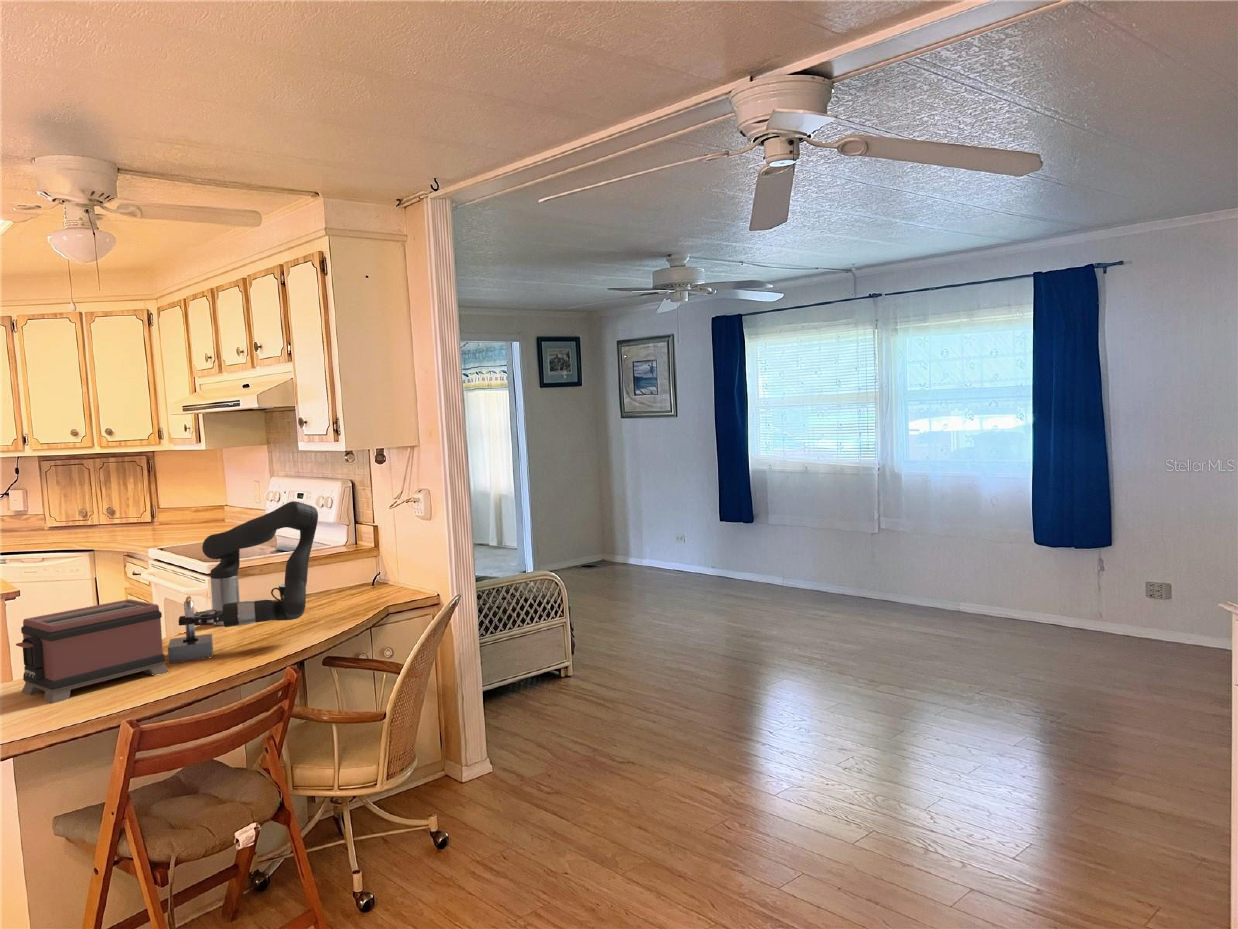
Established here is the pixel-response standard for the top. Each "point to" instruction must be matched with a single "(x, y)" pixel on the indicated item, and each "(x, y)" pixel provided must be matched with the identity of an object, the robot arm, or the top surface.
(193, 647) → the block
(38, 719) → the top surface
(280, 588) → the coffee mug
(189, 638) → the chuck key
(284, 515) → the robot arm
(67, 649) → the toaster
